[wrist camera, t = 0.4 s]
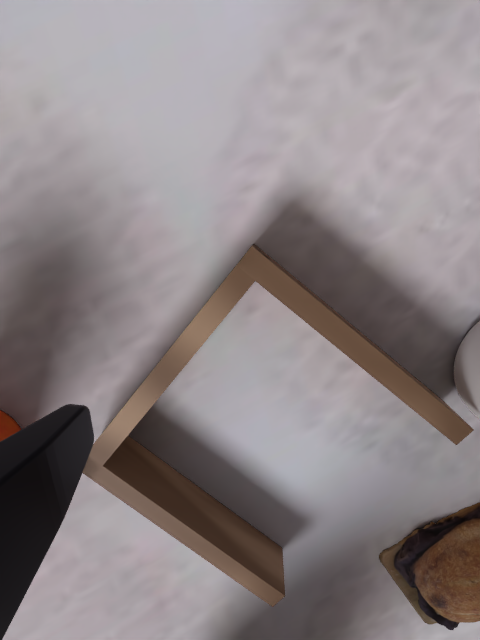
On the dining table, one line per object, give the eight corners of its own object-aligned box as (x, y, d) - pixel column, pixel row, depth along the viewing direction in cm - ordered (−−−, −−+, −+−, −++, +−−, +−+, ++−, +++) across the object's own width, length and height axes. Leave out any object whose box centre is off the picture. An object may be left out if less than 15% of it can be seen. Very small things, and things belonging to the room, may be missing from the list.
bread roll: (423, 619, 27) (447, 678, 24) (368, 540, 26) (384, 590, 22) (564, 563, 25) (613, 618, 22) (512, 474, 24) (555, 517, 20)
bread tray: (271, 558, 26) (272, 607, 23) (101, 435, 25) (74, 467, 21) (442, 400, 22) (473, 429, 19) (253, 243, 21) (251, 245, 18)
